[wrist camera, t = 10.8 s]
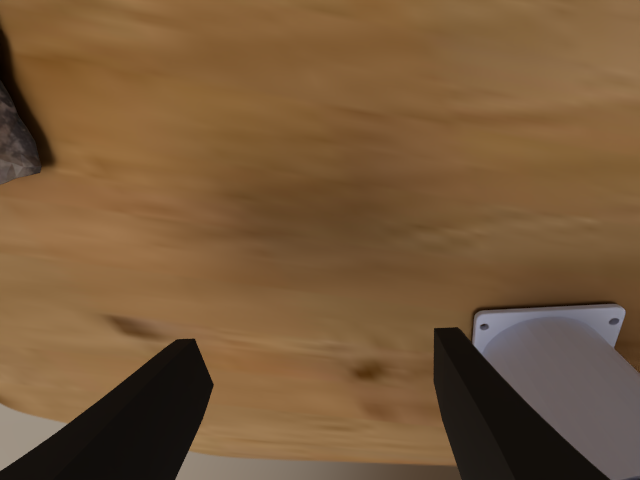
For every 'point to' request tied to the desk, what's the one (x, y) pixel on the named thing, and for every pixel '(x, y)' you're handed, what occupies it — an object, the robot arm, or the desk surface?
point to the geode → (15, 143)
